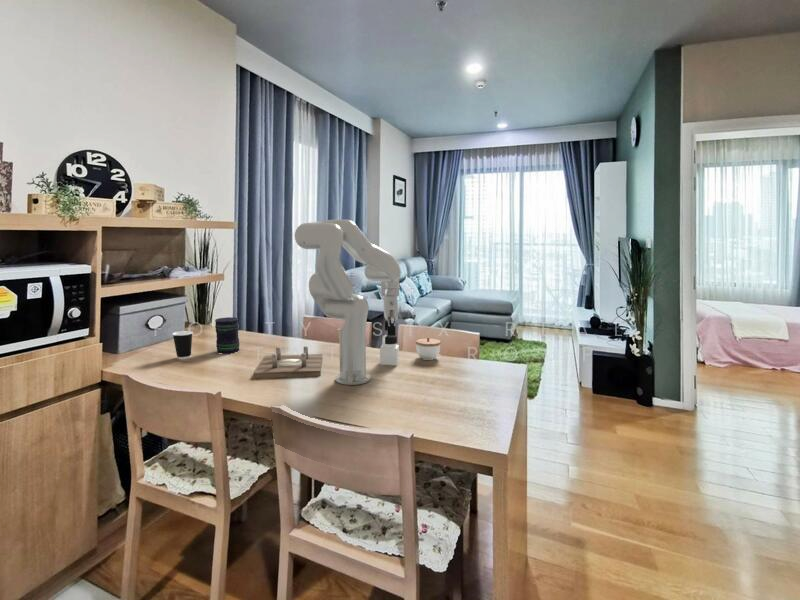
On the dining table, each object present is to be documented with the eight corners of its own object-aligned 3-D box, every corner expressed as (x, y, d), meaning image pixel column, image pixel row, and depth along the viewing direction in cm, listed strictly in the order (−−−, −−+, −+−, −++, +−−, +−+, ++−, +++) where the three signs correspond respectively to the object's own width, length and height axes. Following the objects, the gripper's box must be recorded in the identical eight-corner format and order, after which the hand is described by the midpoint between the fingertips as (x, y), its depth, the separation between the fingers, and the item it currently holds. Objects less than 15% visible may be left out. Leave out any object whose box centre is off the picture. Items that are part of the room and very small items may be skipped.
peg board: (320, 375, 159) (320, 357, 158) (254, 378, 155) (253, 359, 154) (322, 358, 182) (322, 342, 181) (265, 360, 179) (264, 344, 178)
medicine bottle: (398, 360, 180) (399, 333, 178) (397, 365, 173) (397, 337, 171) (382, 360, 181) (382, 332, 179) (379, 365, 174) (379, 336, 172)
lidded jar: (413, 360, 180) (413, 339, 179) (418, 354, 191) (418, 334, 190) (438, 362, 178) (438, 340, 177) (441, 356, 188) (442, 335, 187)
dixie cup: (198, 356, 184) (197, 331, 182) (182, 361, 176) (181, 335, 175) (185, 354, 187) (184, 330, 185) (169, 359, 180) (167, 333, 178)
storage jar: (217, 349, 196) (216, 317, 194) (240, 348, 199) (239, 316, 197) (215, 354, 187) (213, 321, 185) (239, 353, 189) (237, 320, 187)
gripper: (402, 294, 165) (402, 337, 167) (396, 289, 182) (396, 328, 184) (383, 295, 164) (383, 338, 166) (378, 289, 181) (378, 328, 183)
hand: (390, 332), depth 175 cm, fingers open, 9 cm apart
